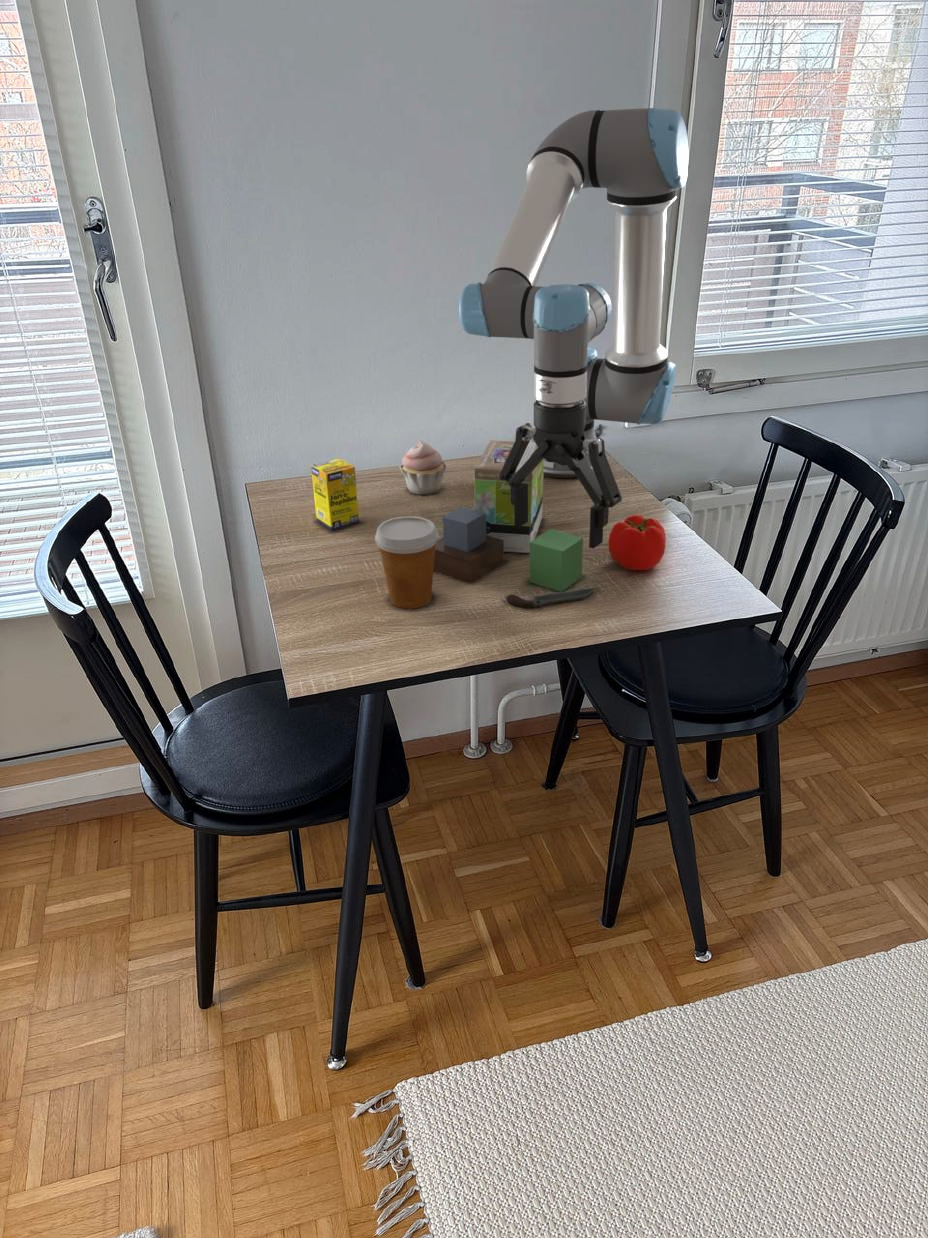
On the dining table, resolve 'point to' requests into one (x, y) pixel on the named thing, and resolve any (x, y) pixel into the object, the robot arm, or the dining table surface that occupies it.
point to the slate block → (464, 529)
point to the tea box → (507, 497)
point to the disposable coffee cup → (408, 559)
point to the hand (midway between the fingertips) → (557, 534)
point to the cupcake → (423, 469)
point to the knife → (550, 598)
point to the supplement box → (335, 494)
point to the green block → (556, 560)
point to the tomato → (637, 543)
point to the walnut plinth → (468, 559)
